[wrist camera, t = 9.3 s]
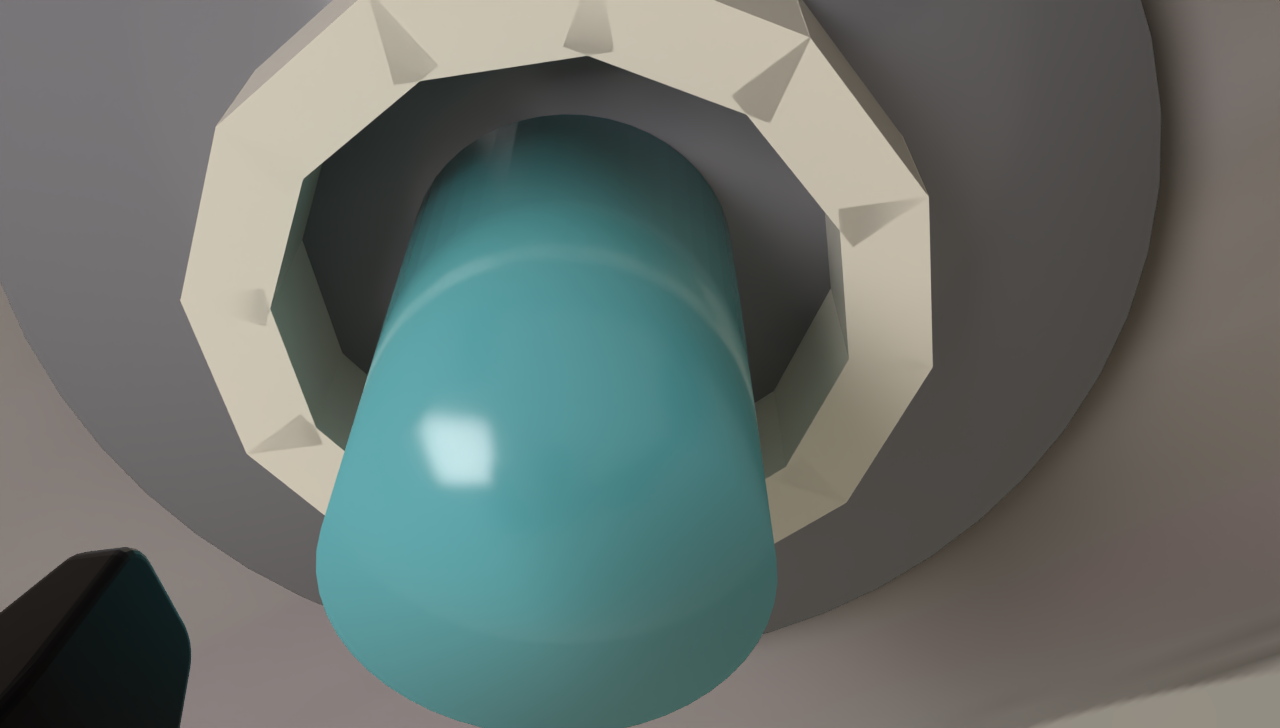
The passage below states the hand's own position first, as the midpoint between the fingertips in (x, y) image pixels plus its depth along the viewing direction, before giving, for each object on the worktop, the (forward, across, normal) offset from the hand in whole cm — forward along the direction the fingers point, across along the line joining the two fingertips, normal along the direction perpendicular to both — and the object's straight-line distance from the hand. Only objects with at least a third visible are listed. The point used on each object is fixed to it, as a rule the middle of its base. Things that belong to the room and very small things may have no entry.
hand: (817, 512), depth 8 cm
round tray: (+12, +3, +4) cm, 13 cm away
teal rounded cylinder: (+11, +3, +4) cm, 12 cm away
